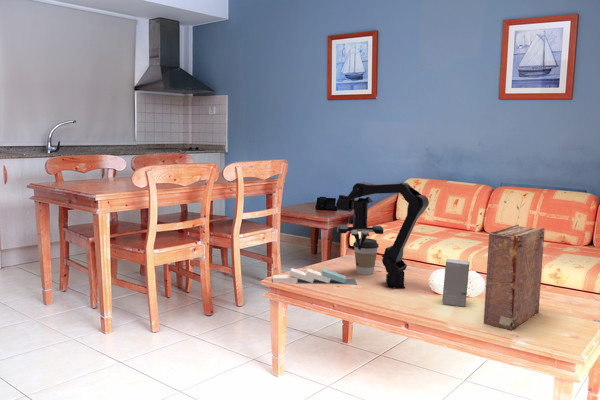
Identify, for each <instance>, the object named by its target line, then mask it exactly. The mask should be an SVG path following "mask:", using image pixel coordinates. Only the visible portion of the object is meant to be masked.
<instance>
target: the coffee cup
mask: <svg viewBox="0 0 600 400" xmlns="http://www.w3.org/2000/svg"><path fill="white" fill-rule="evenodd" d="M359 242H360V238H359ZM352 247H354V259H355V269H356V273H357V274H359V275H362V276H368V275H373V274H374V272H375V266H376V260H377V255H378V254H377V253H378V248H379V243H378V241H377V239H374V238H367V237H366V239H365V240H364V243H363V245H362V247H361V250H359V249H358V246H357V242H356V239H355V241H354V242H353V245H352Z"/></svg>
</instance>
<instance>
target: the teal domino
mask: <svg viewBox="0 0 600 400" xmlns="http://www.w3.org/2000/svg"><path fill="white" fill-rule="evenodd" d="M320 273H321V275H322V276H324V277H327V278H330V279H332V280H335V281H338V282H341V283H344V284H343V285H345V281H346V279H347V276H346V275H344V274H340V273H337V272H334V271H332V270H329V269H327V268H322V270H321V272H320Z"/></svg>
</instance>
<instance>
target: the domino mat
mask: <svg viewBox="0 0 600 400" xmlns="http://www.w3.org/2000/svg"><path fill="white" fill-rule="evenodd" d="M295 284H299V285H300V284H303V285H305V284H306V285H307V284H308V285H349V286H350V285H354V286H357V285H358V283H357V281H356V278H346V281H345V284H344V283H341V282H338V281H335V280H332V279H330V282H329V283H326V282H323V281H320V280H317V279H314V281H313V283H311V282H308V281H305V280H302V279H299V278H298V283H295Z"/></svg>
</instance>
